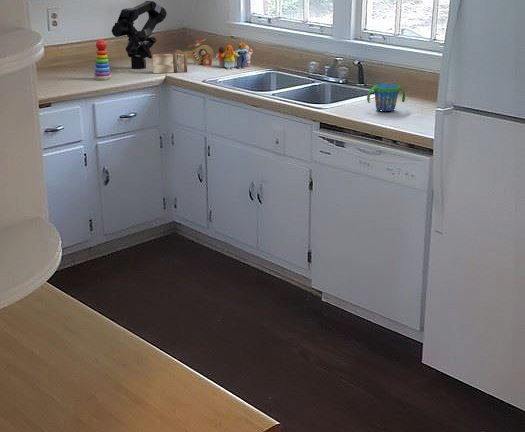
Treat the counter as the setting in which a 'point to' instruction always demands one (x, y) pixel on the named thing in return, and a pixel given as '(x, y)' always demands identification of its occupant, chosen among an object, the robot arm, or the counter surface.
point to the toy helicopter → (197, 51)
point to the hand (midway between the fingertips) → (151, 57)
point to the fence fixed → (182, 62)
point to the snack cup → (386, 96)
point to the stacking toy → (101, 62)
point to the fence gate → (165, 63)
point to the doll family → (229, 60)
